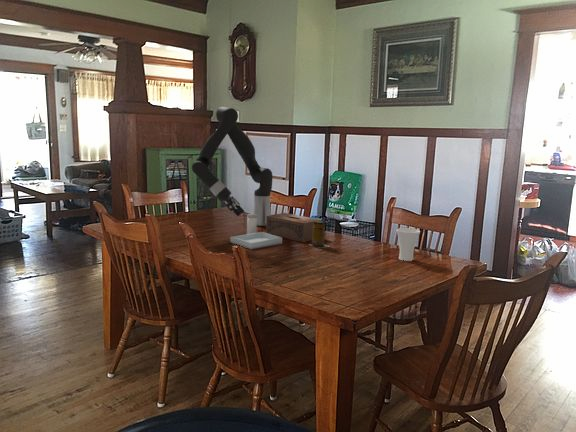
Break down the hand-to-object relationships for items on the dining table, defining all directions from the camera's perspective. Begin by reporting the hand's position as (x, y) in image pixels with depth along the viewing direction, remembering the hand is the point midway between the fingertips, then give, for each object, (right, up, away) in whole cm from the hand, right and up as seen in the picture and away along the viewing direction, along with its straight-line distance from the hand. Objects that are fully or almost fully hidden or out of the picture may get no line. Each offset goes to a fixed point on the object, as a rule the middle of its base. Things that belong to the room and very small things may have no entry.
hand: (241, 213), depth 262 cm
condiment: (+40, -16, -18) cm, 47 cm away
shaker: (+5, -11, +1) cm, 12 cm away
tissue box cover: (+27, -12, +3) cm, 30 cm away
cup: (+78, -21, -37) cm, 89 cm away
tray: (+9, -15, -17) cm, 24 cm away
